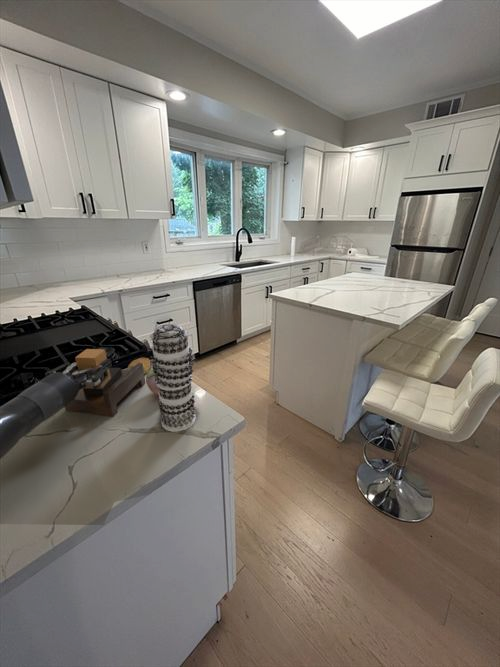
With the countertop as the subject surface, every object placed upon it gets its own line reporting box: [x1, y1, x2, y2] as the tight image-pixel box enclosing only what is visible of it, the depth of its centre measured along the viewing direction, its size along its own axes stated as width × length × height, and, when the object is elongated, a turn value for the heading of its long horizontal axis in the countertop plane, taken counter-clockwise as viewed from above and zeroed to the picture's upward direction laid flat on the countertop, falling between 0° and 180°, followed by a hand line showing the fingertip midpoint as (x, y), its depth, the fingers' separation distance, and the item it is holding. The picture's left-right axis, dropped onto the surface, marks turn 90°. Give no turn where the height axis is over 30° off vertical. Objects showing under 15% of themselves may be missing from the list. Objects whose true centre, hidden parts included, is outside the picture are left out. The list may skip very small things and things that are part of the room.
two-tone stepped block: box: [74, 348, 122, 395], centre depth 76 cm, size 11×5×11 cm, turn 179°
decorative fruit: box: [145, 367, 159, 396], centre depth 79 cm, size 9×8×10 cm
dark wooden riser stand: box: [63, 363, 146, 418], centre depth 78 cm, size 14×16×7 cm
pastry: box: [127, 357, 151, 375], centre depth 93 cm, size 9×7×4 cm
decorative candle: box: [149, 324, 197, 433], centre depth 65 cm, size 9×9×25 cm
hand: (99, 361), depth 74 cm, fingers closed on two-tone stepped block, 5 cm apart
